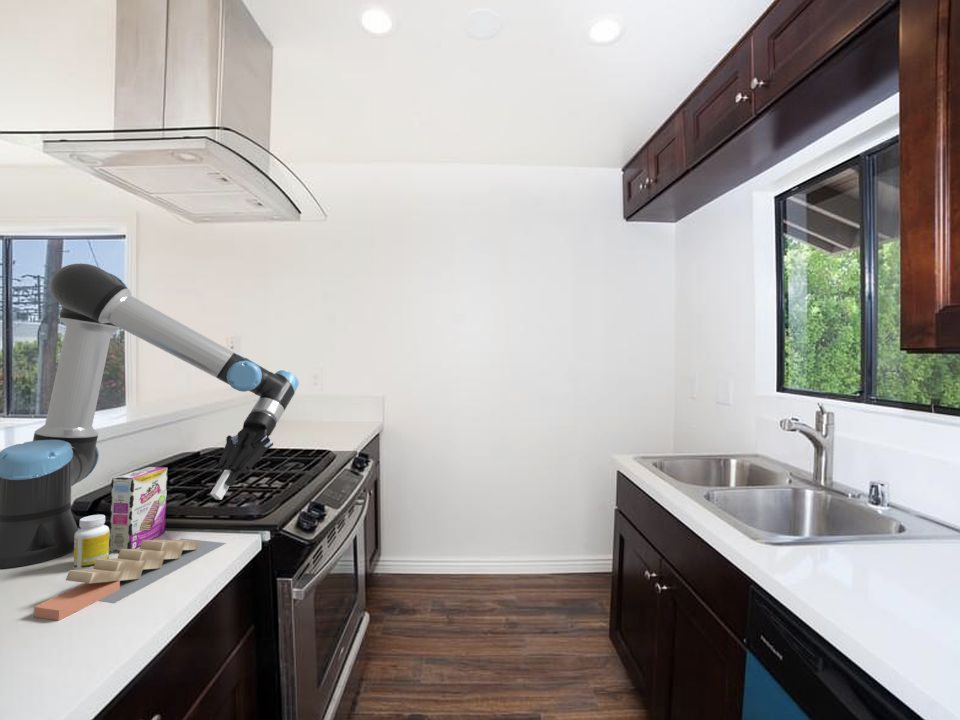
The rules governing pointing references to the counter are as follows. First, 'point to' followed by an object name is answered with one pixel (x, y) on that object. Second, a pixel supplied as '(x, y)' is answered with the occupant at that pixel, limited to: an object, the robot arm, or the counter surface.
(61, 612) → the domino
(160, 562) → the domino
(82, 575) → the domino
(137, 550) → the domino
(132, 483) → the candy bar box
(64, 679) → the counter surface
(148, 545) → the domino
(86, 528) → the supplement bottle
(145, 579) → the mat
